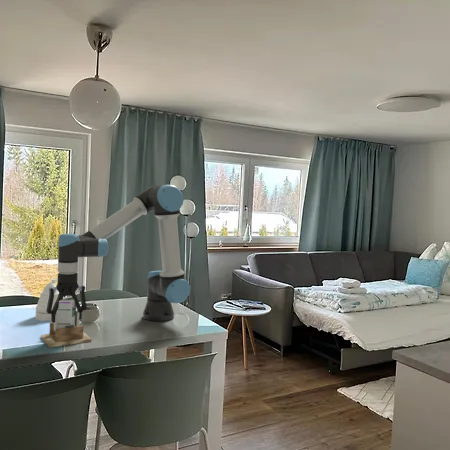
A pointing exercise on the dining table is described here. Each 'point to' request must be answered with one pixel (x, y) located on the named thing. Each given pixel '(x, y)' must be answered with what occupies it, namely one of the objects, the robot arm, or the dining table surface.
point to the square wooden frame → (65, 336)
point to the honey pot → (45, 302)
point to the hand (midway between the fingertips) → (66, 328)
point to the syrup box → (66, 312)
